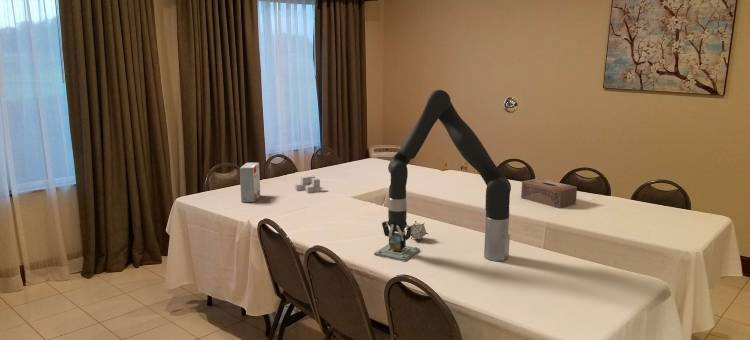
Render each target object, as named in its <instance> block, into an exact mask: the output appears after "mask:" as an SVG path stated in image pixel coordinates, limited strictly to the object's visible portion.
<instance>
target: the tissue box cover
mask: <svg viewBox="0 0 750 340" xmlns="http://www.w3.org/2000/svg"><path fill="white" fill-rule="evenodd" d="M520 191H521V195H520V196H521V197H520V199H523V200H527V201H530V202H534V203H537V204H542V205H544V206H548V207H552V208H557V209H563V208H567V207H569V206H570V207H571V206H574V205H576V204H577V194H578V186H574V185H571V184H565V183H560V182H557V181H553V180H549V179H544V178H540V177H539V178H538V177H537V178H533V179H528V180H523V181H521V190H520Z"/></svg>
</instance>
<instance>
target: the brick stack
mask: <svg viewBox="0 0 750 340" xmlns="http://www.w3.org/2000/svg"><path fill="white" fill-rule="evenodd" d="M390 249H391V250H396V251H400V250H402V249H401V237H400V236H399V233H398V232H395V233H393V234H392V235H390Z"/></svg>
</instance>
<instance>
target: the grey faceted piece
mask: <svg viewBox="0 0 750 340" xmlns="http://www.w3.org/2000/svg"><path fill="white" fill-rule="evenodd" d="M411 226H413V230H412V233H411V236H410V239H415V240H418V241H419V242H421V240H422V238H423V237H425V236H426V235H429V233H428V232H427V229H426V227H425V222H424V223H420V222H417V220H415V221H414V223H413V224H411Z"/></svg>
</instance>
